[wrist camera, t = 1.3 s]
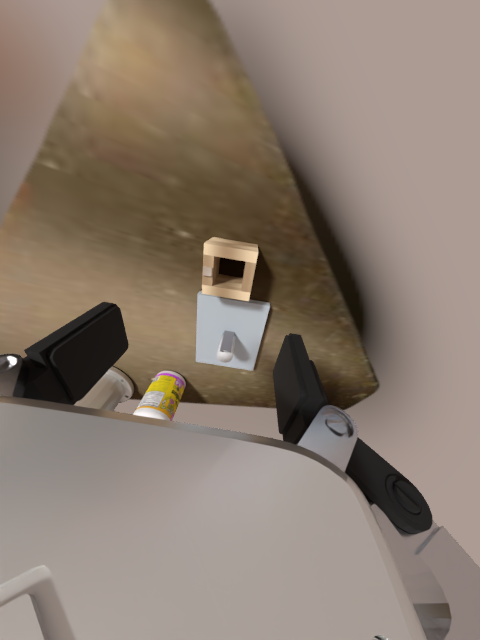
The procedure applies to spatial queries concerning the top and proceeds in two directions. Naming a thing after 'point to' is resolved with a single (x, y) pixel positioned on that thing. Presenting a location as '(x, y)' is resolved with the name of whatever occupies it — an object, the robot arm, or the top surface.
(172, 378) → the supplement bottle
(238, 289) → the wooden hollow box
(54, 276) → the top surface
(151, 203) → the top surface
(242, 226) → the top surface
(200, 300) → the shaft block
